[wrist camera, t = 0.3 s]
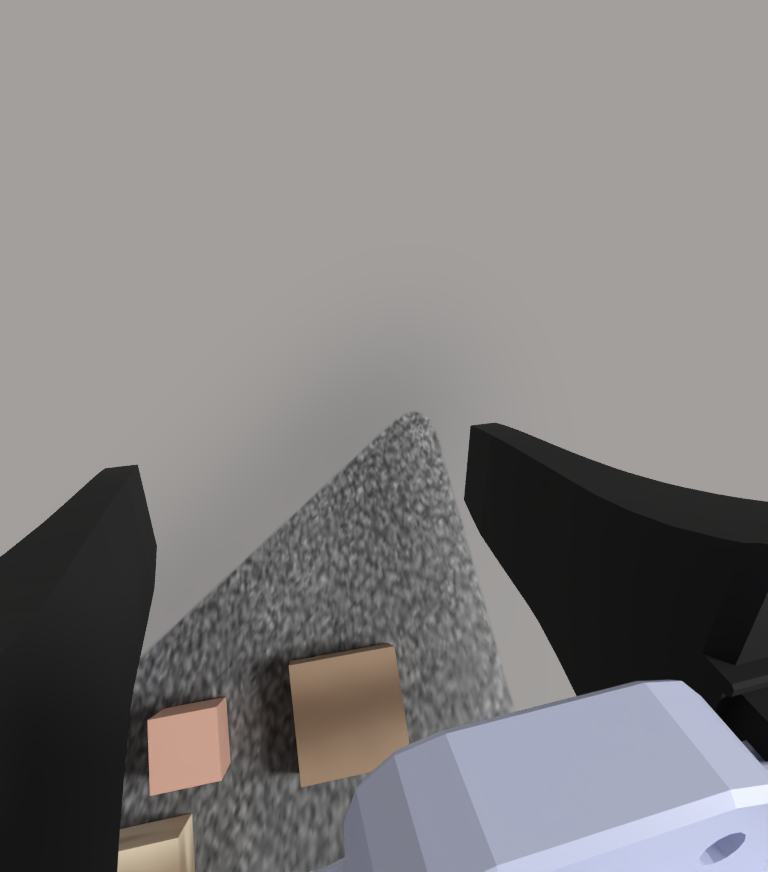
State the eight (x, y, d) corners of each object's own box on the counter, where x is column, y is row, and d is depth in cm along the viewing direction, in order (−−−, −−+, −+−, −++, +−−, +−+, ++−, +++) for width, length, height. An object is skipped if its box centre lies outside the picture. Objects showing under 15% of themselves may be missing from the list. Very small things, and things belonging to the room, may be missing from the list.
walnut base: (404, 750, 37) (412, 762, 34) (301, 773, 36) (301, 787, 33) (388, 643, 39) (394, 646, 36) (290, 661, 38) (288, 665, 35)
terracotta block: (230, 761, 36) (221, 780, 32) (167, 775, 35) (150, 795, 31) (225, 696, 37) (216, 706, 33) (164, 708, 36) (147, 720, 32)
